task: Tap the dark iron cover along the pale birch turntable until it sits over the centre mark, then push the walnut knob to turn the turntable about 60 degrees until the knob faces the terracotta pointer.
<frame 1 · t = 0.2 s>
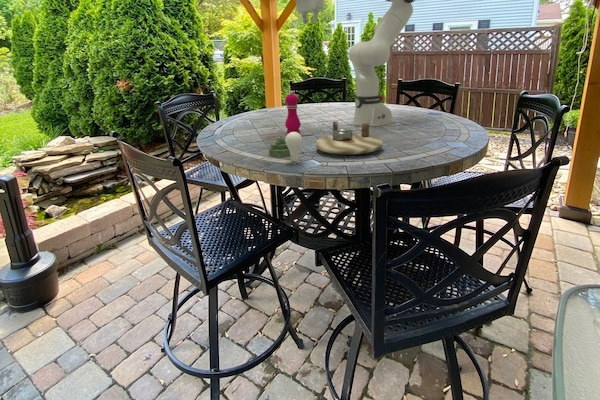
hand: (310, 23, 162), 47 cm above the table, tool pointing down, fingers open, 8 cm apart
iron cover: (342, 138, 150), point 3 cm above the table, touching turntable
pointer: (335, 140, 162), on the table
turntable base: (348, 149, 147), on the table
lightbulb: (294, 162, 135), on the table
decorative artifact: (282, 154, 146), on the table
turntable: (348, 137, 145), point 5 cm above the table, hinge at 0.0°, touching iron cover
pepper mill: (293, 134, 177), on the table
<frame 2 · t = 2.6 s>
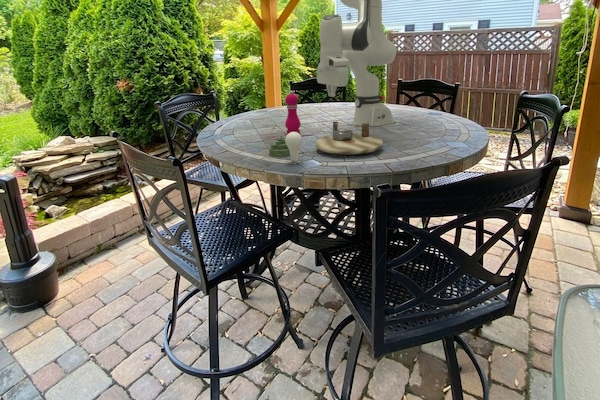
hand: (331, 96, 152), 19 cm above the table, tool pointing down, fingers closed
nothing on the table moved.
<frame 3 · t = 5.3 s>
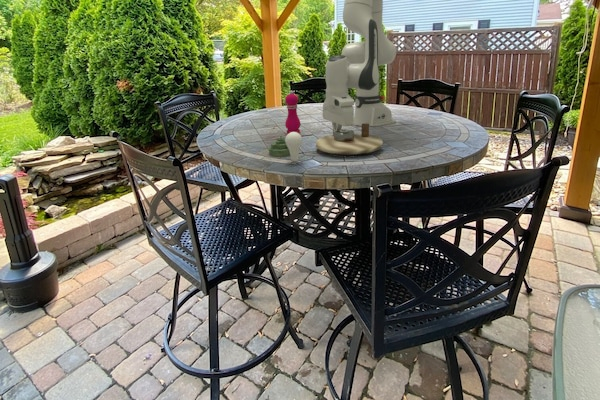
hand: (337, 133, 153), 5 cm above the table, tool pointing down, fingers closed
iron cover: (343, 139, 149), point 3 cm above the table, touching gripper
turntable: (348, 137, 145), point 5 cm above the table, hinge at 0.0°
everything else where it was.
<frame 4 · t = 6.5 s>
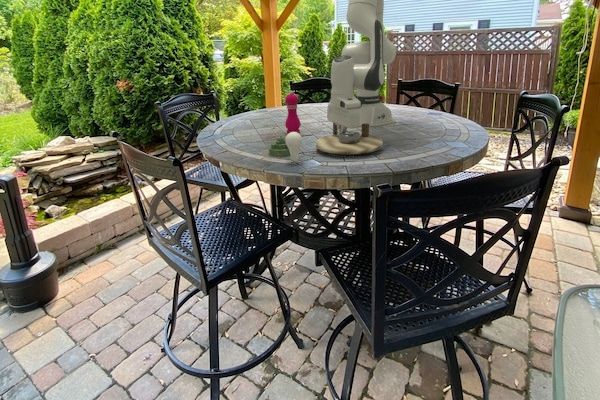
hand: (342, 135, 150), 5 cm above the table, tool pointing down, fingers closed
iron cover: (349, 141, 146), point 3 cm above the table, touching gripper, turntable
turntable: (348, 137, 145), point 5 cm above the table, hinge at 0.0°, touching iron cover
everything else where it was.
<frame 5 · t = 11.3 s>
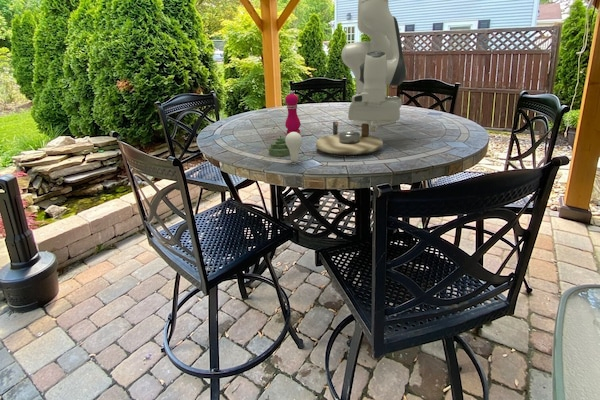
hand: (373, 131, 150), 6 cm above the table, tool pointing down, fingers closed
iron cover: (349, 141, 146), point 3 cm above the table, touching turntable
turntable: (348, 137, 145), point 5 cm above the table, hinge at 0.2°, touching gripper, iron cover
everything else where it was.
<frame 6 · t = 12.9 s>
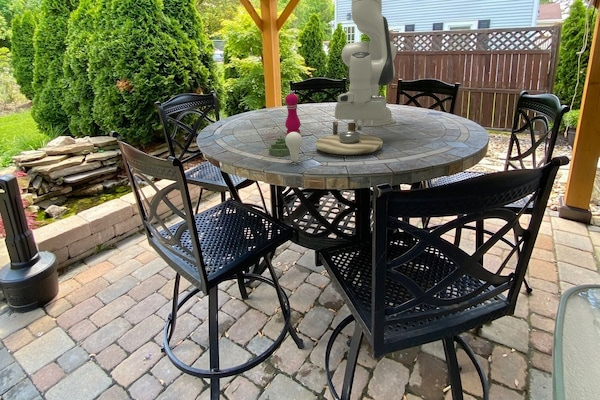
hand: (359, 130, 154), 5 cm above the table, tool pointing down, fingers closed
turntable: (348, 137, 145), point 5 cm above the table, hinge at 32.6°, touching gripper, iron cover
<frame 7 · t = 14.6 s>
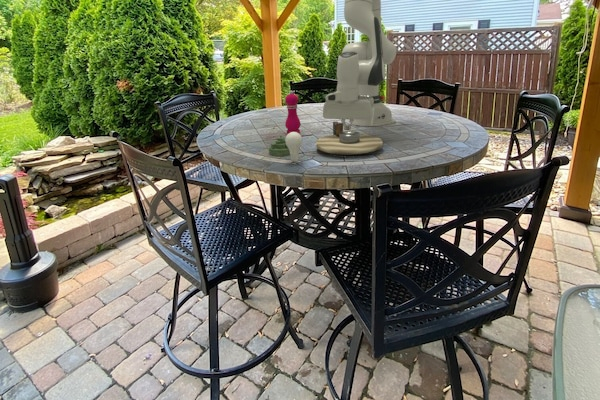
hand: (347, 129, 154), 6 cm above the table, tool pointing down, fingers closed
turntable: (348, 137, 145), point 5 cm above the table, hinge at 61.5°, touching gripper, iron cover
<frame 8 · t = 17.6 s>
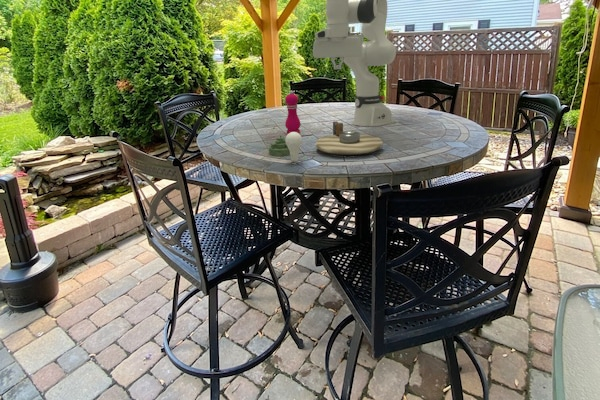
hand: (337, 69, 153), 29 cm above the table, tool pointing down, fingers closed
turntable: (348, 137, 145), point 5 cm above the table, hinge at 61.5°, touching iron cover
at the end: turntable at +62° (first picture: +0°); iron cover 0.3 cm from the turntable (horizontally); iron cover touching turntable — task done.
